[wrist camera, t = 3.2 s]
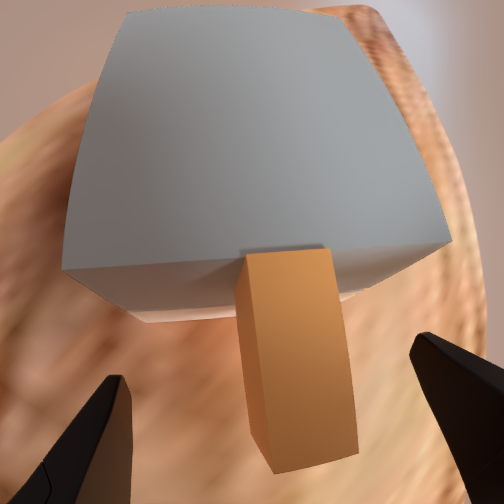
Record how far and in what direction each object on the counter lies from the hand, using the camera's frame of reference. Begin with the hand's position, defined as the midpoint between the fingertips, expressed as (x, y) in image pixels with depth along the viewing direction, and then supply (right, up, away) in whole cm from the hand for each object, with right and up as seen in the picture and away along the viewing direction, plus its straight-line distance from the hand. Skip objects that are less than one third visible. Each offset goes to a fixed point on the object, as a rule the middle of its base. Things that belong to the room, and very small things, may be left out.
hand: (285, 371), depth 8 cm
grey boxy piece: (-1, +5, +6) cm, 8 cm away
